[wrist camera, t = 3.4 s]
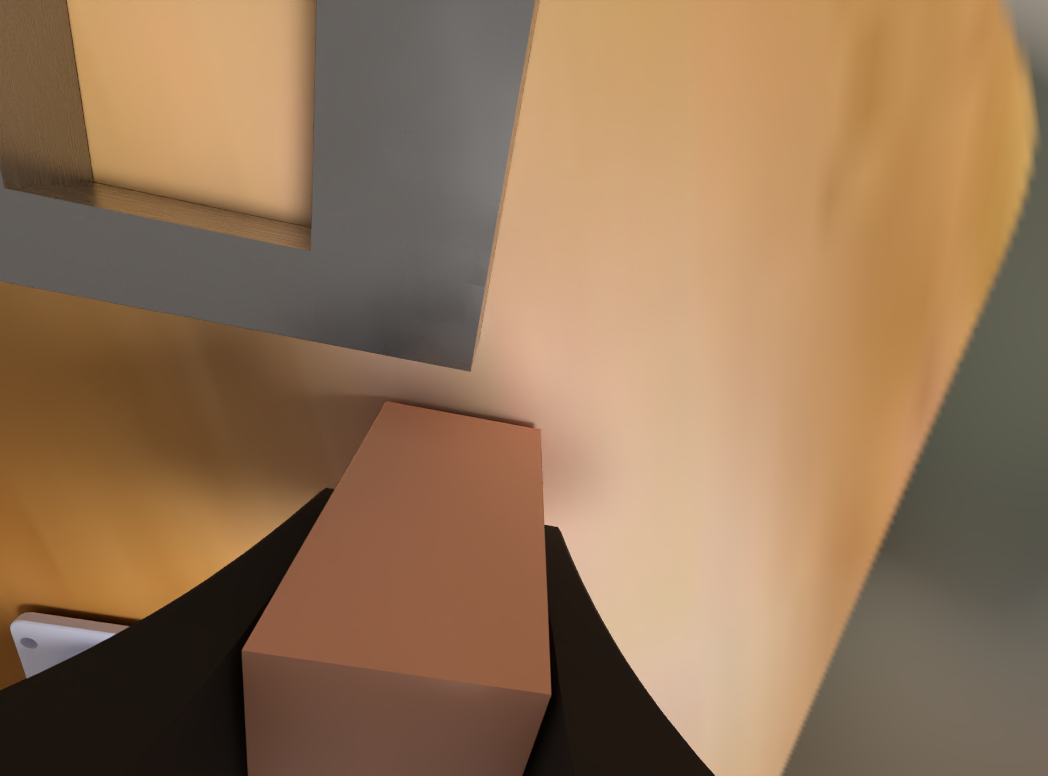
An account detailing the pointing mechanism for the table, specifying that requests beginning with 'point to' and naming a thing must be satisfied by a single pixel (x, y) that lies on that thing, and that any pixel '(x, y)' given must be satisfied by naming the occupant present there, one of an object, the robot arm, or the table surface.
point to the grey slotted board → (337, 190)
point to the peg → (410, 612)
